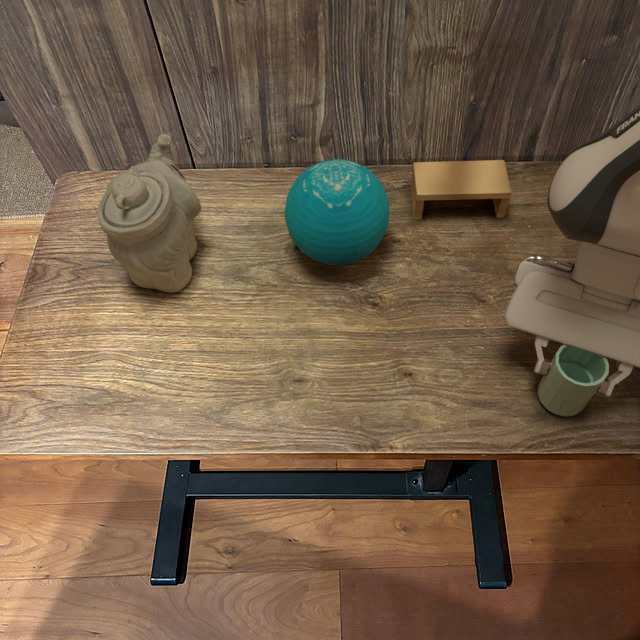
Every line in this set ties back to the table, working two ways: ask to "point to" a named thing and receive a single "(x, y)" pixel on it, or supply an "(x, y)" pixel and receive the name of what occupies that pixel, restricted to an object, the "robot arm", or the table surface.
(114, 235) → the teapot
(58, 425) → the table surface
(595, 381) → the sage green tumbler
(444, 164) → the shelf
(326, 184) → the decorative orb
